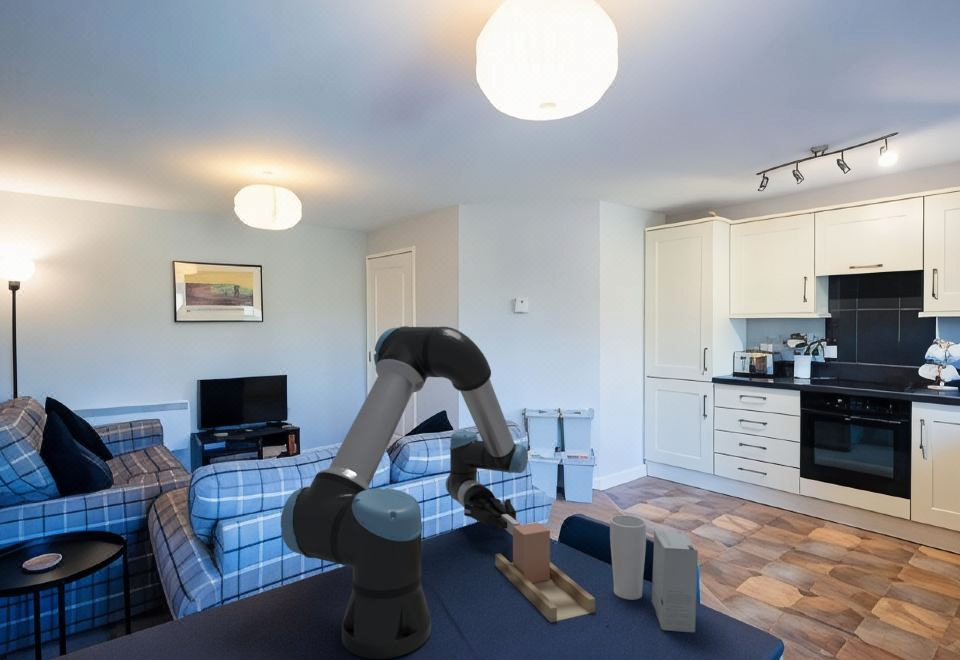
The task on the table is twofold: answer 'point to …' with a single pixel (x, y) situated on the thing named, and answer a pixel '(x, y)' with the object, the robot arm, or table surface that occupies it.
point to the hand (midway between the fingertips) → (516, 529)
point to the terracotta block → (532, 551)
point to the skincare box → (674, 580)
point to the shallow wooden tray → (550, 592)
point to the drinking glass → (628, 555)
